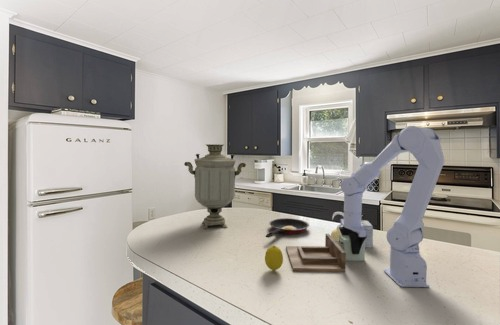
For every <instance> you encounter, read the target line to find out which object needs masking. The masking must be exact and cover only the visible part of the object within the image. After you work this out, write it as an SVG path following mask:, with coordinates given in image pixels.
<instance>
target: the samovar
mask: <svg viewBox="0 0 500 325" xmlns="http://www.w3.org/2000/svg"><path fill="white" fill-rule="evenodd" d="M205 146H206V147H207V151H208V152H209V153H208V154H206V155H204V156H203V157H200V153H196V154H195V157H196V158H195V159H194V164H195V165H196V166H195V169H194V166H193V164H192V162H190V161H185V162H184V166H186V167H188V168H187V169H188V172H189V173H190V174H191V175H194V176H193V177H194V197H195V200H196V201H197V203H199V204H200V205H201V206H202V207H204V208H205V207H206V209H207V210H206V212H207V213H209V214H207V215H206V217H204V218H203V221H202V224H204V226H203V227H202V228H203V229H202V230H208V228H209V226H218V225H220V226H223V227H224V228H225V229H227V228H228V225H227V224H226V218H225V217H224V216H223V215H221V214H220V213H221V212H222V211H223V210H222V209H223V208H224V207H226V206H228V205H229V204H230V203H232V202H233V200H234V199H235V190H236V189H235V188H236V186H235V185H236V177H237V176H239V175H240V174H241V173H242V168H245V167H246V166H247V164H246V163H245V162H240V163H239V164H238V165H237V169H235V164H236V159H234V157H235V154H233V153H232V154H230V158H229V157H226V155H224V154H222V151H223V147H224V144H217V143H216V144H211V143H210V144H205Z"/></svg>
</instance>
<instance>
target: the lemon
mask: <svg viewBox="0 0 500 325" xmlns="http://www.w3.org/2000/svg"><path fill="white" fill-rule="evenodd" d="M264 262H265V265H266V266H267V268H268V269H270V270H271V271H273V272H276V271H277V270H279V269H280V268H281V267H282V265H283V263H284V256H283V251H282V250H281V248H279V247H278V246H277V245H272V246H270V247H269V246H268V248H267V250H266V251H265V254H264Z"/></svg>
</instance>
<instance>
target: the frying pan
mask: <svg viewBox="0 0 500 325" xmlns="http://www.w3.org/2000/svg"><path fill="white" fill-rule="evenodd" d="M268 225H269V226H270V227H271V228H272V229H273V230H272V231H269V232H268V233H267V234H266V235H265V238H271V237H273V236H275V235H276V234H278V233H279V234H283V235H300V234H302V233H304V232H305V231H306V230H307V229H308V228H309V227H310V223H309V222H308V221H306V220H304V219H300V218H299V219H298V218H292V217H291V218H290V217H288V218H287V217H283V218H274V219H271V220H269V222H268Z"/></svg>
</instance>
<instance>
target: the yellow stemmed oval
mask: <svg viewBox="0 0 500 325" xmlns="http://www.w3.org/2000/svg"><path fill="white" fill-rule="evenodd" d="M337 215H340V216H341V217H343V218H344V212H342V211H335V212H333V213H332V218H331V220H332V221H333V220H334V217H335V216H337ZM339 227H343V225H341V223H339V224H337V226H336V228H335V229H333V230H332V231H331V233H330V236H331V237H332V238H333V239H334V240H335V241H336V242H337V243H339V235H342V234H341V232H340V230H339Z"/></svg>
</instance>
